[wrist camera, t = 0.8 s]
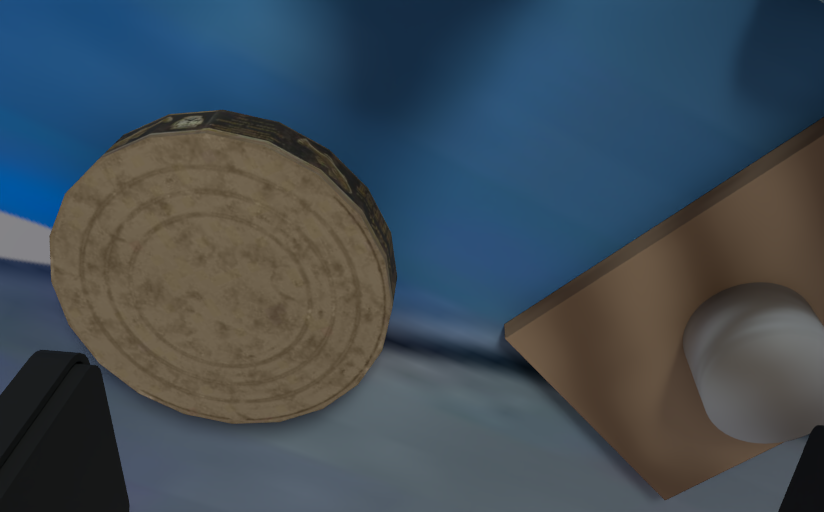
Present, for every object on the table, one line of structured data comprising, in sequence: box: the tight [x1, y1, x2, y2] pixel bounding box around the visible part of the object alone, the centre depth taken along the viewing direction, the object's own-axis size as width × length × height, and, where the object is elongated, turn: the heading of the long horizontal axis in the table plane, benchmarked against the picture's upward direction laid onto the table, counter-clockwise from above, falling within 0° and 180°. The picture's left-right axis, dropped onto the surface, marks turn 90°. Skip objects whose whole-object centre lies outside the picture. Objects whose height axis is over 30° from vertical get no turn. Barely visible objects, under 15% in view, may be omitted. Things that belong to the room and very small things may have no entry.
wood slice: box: [50, 110, 397, 424], centre depth 37 cm, size 16×16×3 cm
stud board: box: [504, 117, 824, 500], centre depth 36 cm, size 18×14×5 cm
